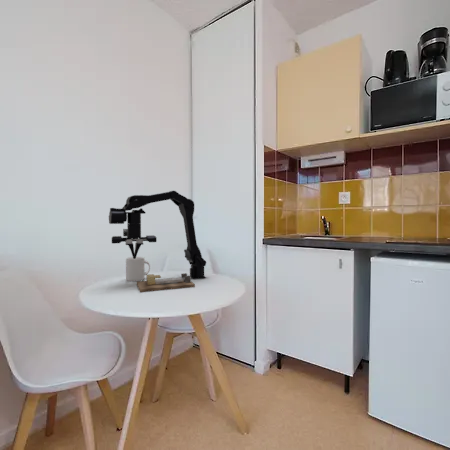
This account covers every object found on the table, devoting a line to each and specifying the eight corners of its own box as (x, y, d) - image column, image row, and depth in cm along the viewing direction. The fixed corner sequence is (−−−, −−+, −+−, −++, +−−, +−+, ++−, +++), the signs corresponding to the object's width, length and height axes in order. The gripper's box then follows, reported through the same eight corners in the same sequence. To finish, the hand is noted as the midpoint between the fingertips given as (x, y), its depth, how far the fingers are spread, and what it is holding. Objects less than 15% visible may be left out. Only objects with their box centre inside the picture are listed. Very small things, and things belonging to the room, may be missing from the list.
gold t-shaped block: (159, 281, 126) (159, 273, 126) (161, 283, 121) (161, 275, 121) (146, 282, 124) (146, 274, 124) (148, 284, 119) (148, 276, 119)
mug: (153, 279, 138) (153, 257, 138) (130, 282, 130) (130, 259, 130) (146, 276, 144) (146, 255, 144) (123, 279, 137) (123, 257, 136)
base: (185, 280, 136) (185, 271, 136) (194, 286, 122) (194, 277, 122) (136, 284, 127) (136, 275, 127) (140, 292, 113) (140, 282, 113)
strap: (184, 279, 130) (184, 277, 130) (187, 281, 126) (187, 278, 126) (154, 282, 124) (154, 279, 124) (155, 284, 121) (155, 281, 121)
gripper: (152, 223, 135) (152, 255, 136) (111, 223, 128) (111, 257, 128) (156, 223, 125) (156, 258, 125) (111, 224, 118) (112, 260, 118)
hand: (134, 258), depth 125 cm, fingers closed
